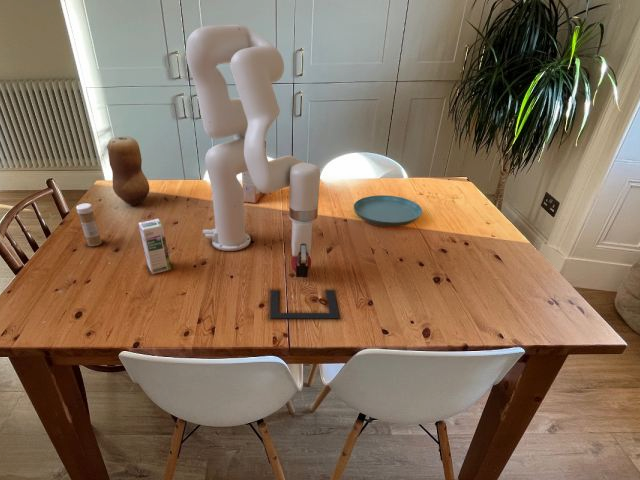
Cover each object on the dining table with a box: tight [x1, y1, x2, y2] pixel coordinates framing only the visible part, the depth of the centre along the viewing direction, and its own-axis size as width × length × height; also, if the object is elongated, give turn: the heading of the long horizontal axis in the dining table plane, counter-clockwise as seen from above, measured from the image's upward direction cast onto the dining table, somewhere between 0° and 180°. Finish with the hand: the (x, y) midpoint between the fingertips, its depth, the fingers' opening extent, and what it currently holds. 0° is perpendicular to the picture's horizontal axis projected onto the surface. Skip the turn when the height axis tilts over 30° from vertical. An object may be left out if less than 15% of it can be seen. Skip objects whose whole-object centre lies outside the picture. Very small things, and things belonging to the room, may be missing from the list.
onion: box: [290, 252, 312, 273], centre depth 116 cm, size 6×6×8 cm
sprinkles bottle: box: [75, 202, 103, 248], centre depth 130 cm, size 5×5×14 cm
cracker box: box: [241, 140, 267, 204], centre depth 160 cm, size 14×6×21 cm, turn 164°
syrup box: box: [138, 218, 172, 275], centre depth 117 cm, size 6×6×14 cm
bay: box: [269, 289, 340, 320], centre depth 106 cm, size 17×12×1 cm
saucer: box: [353, 194, 423, 228], centre depth 149 cm, size 24×24×3 cm
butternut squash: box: [106, 136, 150, 207], centre depth 155 cm, size 14×13×25 cm
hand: (300, 269), depth 117 cm, fingers closed on onion, 6 cm apart
